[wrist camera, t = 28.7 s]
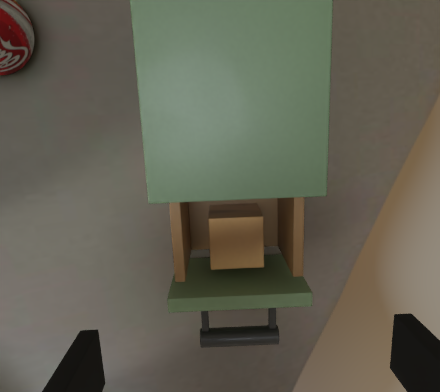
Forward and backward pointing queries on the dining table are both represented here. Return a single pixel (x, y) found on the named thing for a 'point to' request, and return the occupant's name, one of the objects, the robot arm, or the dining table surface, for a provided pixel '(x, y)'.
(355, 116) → the dining table surface
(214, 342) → the drawer
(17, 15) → the soda can
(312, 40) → the cabinet
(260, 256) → the block
